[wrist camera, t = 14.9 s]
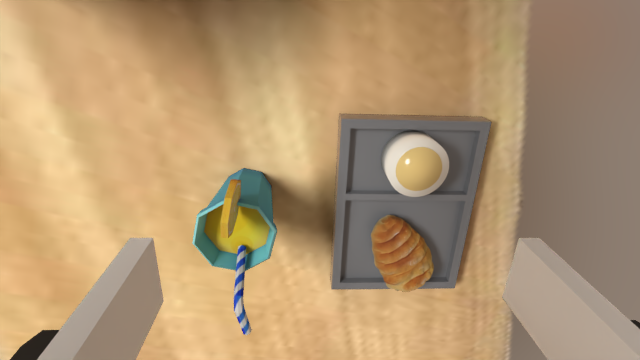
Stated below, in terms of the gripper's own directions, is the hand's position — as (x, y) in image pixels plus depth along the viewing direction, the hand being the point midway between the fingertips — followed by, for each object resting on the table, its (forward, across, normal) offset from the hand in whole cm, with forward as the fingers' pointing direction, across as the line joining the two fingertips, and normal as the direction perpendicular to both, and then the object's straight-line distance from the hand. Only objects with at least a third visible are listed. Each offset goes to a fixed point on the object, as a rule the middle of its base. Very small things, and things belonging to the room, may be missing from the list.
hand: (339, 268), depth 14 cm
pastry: (+27, +11, -18) cm, 34 cm away
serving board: (+29, +11, -12) cm, 33 cm away
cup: (+29, -7, -11) cm, 32 cm away
